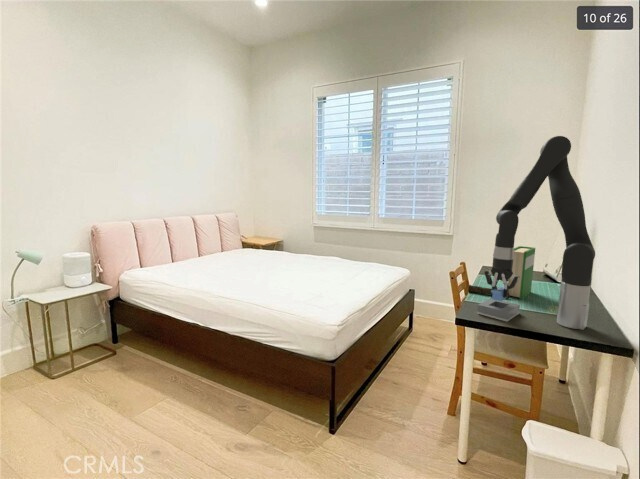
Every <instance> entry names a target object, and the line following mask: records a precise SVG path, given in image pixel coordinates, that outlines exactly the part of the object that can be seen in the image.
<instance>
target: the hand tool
mask: <svg viewBox="0 0 640 479" xmlns="http://www.w3.org/2000/svg"><path fill="white" fill-rule="evenodd" d="M467 290H468V293H477V294H482V295H483V294H484V295H489V296H490V295H491V296H492V293H491V290H492V288H491V287H490V288H488V287H483V286H479V285H478V286H476V285H471V284H468V288H467ZM506 299H510V296H509V292H508V296H507V297H506Z"/></svg>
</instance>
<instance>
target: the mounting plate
mask: <svg viewBox="0 0 640 479" xmlns="http://www.w3.org/2000/svg"><path fill="white" fill-rule="evenodd" d="M520 306H521V304H518V303H514V302H509V301H506V300H502V301H498V300H494V299H492V297H491V298H490V297H489V298H488V299H486V300H484V301H483V302H481V303H478V305H477V312H476V313H477V314H478V315H482V316H486V317H488V318H492V319H497V320H498V321H499V320H500V321H504V322H509V321H510V320H512V319H513V318H515V317H516V316H518V315H519V314H520V309H521V308H520Z"/></svg>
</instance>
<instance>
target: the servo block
mask: <svg viewBox="0 0 640 479" xmlns="http://www.w3.org/2000/svg"><path fill="white" fill-rule="evenodd" d="M503 292H504V286H497V288H496V289H493V290H491V293H493V294H492V295H491V296H492V297H491V298H492V299H494V300H498V301H505V300H506V299H507V298H506V297H505V298H504V297H503Z"/></svg>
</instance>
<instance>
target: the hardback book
mask: <svg viewBox="0 0 640 479" xmlns="http://www.w3.org/2000/svg"><path fill="white" fill-rule="evenodd" d="M535 255H536V247H533V246H532V247H530V246H521V245H519V246H516V247H514V257H513V267H512V272H513V274H514V275H516V276H519V277H520V278H519V280H518V281H517V283H516V285H515V286H514V288H512V289H509V297H510V296H511V297H515V298H519V300H523V299H525V298H526V297H527V296H529V294H530V293H532V286H533V284H532V283H533V275H534V264H535ZM512 281H513V280H512V276H511V277H510V278H509V286H510V284H511V282H512Z"/></svg>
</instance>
